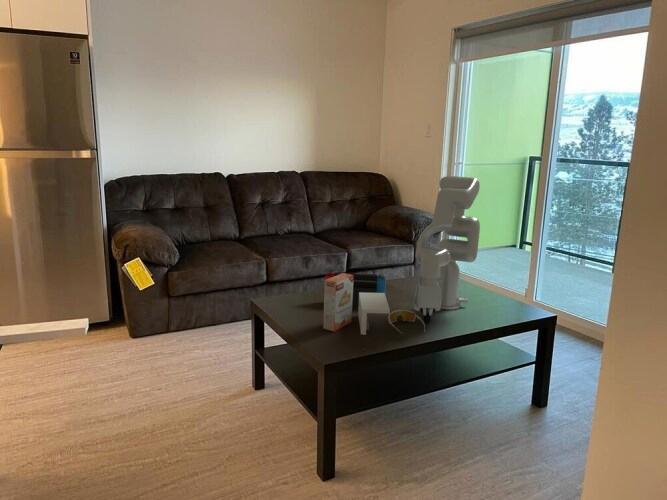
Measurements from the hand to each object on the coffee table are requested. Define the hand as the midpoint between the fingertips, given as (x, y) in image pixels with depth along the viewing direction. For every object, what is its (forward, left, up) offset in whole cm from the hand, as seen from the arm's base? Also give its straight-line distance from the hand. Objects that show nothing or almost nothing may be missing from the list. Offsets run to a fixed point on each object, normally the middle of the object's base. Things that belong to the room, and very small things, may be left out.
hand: (426, 323), depth 220 cm
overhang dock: (+23, 0, -1) cm, 23 cm away
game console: (+29, -27, -2) cm, 39 cm away
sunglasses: (+9, +1, -2) cm, 9 cm away
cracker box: (+37, +2, -1) cm, 37 cm away
